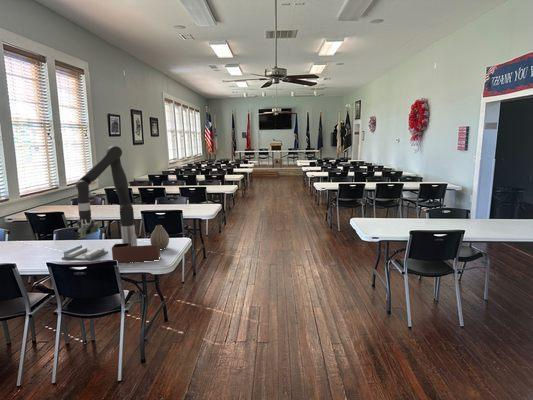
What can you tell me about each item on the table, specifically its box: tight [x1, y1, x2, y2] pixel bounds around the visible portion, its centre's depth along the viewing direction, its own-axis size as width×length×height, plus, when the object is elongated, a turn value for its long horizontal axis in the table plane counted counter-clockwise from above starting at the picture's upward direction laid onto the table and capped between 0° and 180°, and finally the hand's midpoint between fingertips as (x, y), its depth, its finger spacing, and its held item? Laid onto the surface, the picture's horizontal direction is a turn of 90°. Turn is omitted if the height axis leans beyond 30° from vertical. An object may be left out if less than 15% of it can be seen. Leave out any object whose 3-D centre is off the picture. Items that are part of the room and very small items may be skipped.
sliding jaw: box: [63, 244, 88, 257], centre depth 250 cm, size 6×16×4 cm, turn 171°
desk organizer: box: [111, 243, 161, 264], centre depth 236 cm, size 10×29×11 cm, turn 100°
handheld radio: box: [73, 222, 99, 241], centre depth 250 cm, size 7×3×25 cm
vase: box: [149, 224, 170, 250], centre depth 261 cm, size 13×13×18 cm
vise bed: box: [61, 247, 109, 261], centre depth 249 cm, size 22×18×3 cm
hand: (87, 233), depth 250 cm, fingers closed on handheld radio, 3 cm apart
